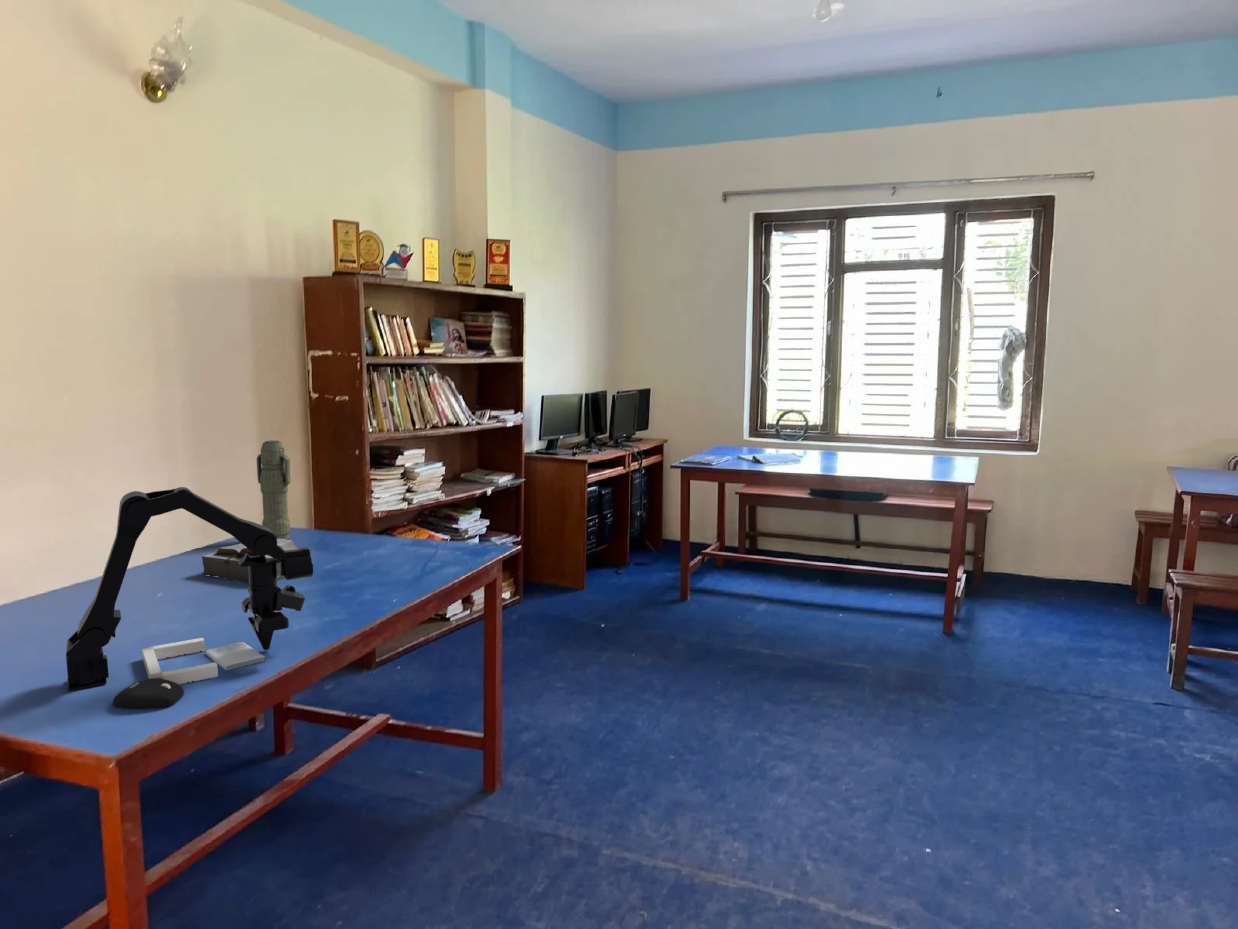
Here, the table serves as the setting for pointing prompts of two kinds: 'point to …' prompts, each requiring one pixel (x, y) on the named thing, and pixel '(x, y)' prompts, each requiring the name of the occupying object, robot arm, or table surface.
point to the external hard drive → (235, 655)
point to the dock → (178, 649)
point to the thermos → (274, 487)
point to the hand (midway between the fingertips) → (266, 649)
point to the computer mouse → (149, 694)
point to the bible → (236, 561)
